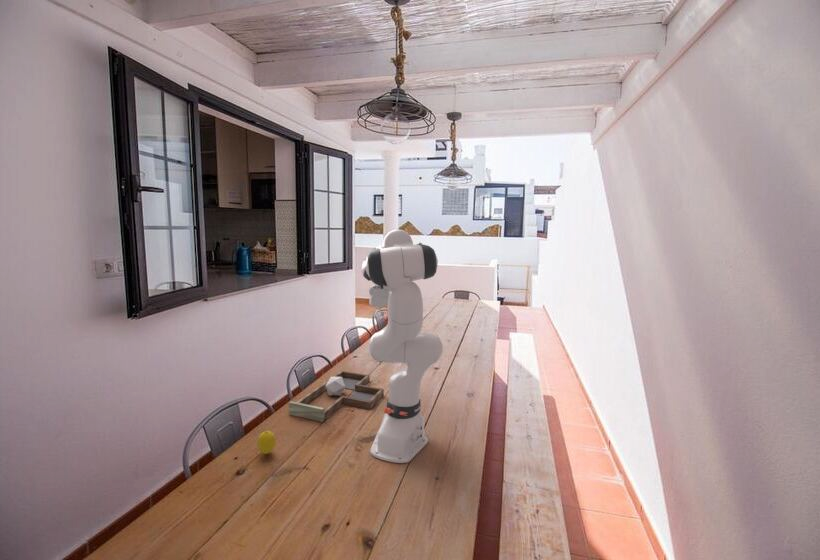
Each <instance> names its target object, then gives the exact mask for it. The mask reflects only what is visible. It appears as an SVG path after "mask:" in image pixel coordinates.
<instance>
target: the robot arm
mask: <svg viewBox="0 0 820 560" xmlns="http://www.w3.org/2000/svg"><path fill="white" fill-rule="evenodd" d="M438 261H439V260H438V256H437V254H436V252H435V249H434V248H433V247H431V246H429V245H426V244H423V243H422V242H419V243H416V244H414V242H413V239H412V237H411V234H409V233H408V232H407V231H406V230H404V229H399V228H395V229H392V230H390V231H388V233H386V235H385V236H384V238H383V239H382V241H381V244H379V245H378V246H376V247H373V248H371V250H370V251H368V253H367V256H366V257H365V258H364V259H363V261H362V265H361V272H362V277H364V279H366V280H367V281H368V282H369V281H370V282H372V283H373V285H372V286H370V287H369V291H368V292H369V302H368V304H369V306H371V308H376V309H377V310H378V312H379V317H384V316H385V315H384V314H385V312H384V311H382V307H387V324H386V326H385V327H384V328H382V329H381V330H379V331H377V332H375V333H374V334H372V335H371V337H370V339H369V342H368V353H369V355H370V357H371V358H372V359H373V360H374V361H378V362H382V363H387V364H406V366H405V367H404V368H401V370H398V371H396V372H394V373H393V374H391V376H390V378H389V379H388V398H387V400H386V405H385V407H384V409H383V418H382V421H381V424H380V427H379V429H378V431H377V433H376V436H375V438H374V440H373V443H372V445H371V448H370V451H369V454H370V455H371V456H372V457H374V458H377V459H379V460H382V461H385V462H390V463H395V464H396V463H398V464H406V463H409V462H411V460H413V458H414V457H415V456H416V455H417V454H418V453H419V452H420V451H421V450H422V449H423V448H425V446H426V445H427V444H428V443H429V439H428V437H427V436H426V435H425V418H424V416H423V414H422V413H421V407H422V403H421V399H420V392H421V385H422V380H423V378H424V375H425V373H426V372H427V371H428V369H429V368H431V366H433V365H435V364H436V363H437V362H438V361H439V360H440V359H441V357H442V355H443V351H444V345H443V342H442V339H440V337H439V336H438V335H436V334H433V333H429V332H425V331H424V332H423V331H421V330H422V328H423V321H424V320H423V318H424V317H423V315H424V303H423V301H424V300H423V297H422V296H423V295H422V292H421V289H420V286H418V284H417V283H415V282H414V281H420V280H429V279H431V278H433V277H434V276H435V275H436V274H437V270H438V266H439V265H438V263H439V262H438Z"/></svg>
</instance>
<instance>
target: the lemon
mask: <svg viewBox="0 0 820 560" xmlns="http://www.w3.org/2000/svg"><path fill="white" fill-rule="evenodd" d="M256 443H257V449H258V451H259V452H260V453H262V454H264V455H268V454H270V453H271V452H272V451H273V450H274V449H275V447H276V443H277V442H276V436H275V434H274V432H272V431H270V430H264V431H263V432H262V433H260V434H259V436H258V439H257V441H256Z"/></svg>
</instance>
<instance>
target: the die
mask: <svg viewBox="0 0 820 560" xmlns="http://www.w3.org/2000/svg"><path fill="white" fill-rule="evenodd" d="M328 380H329V381H328V382H327V384H326V391H327V394H328V396H331V397H332V396H333V397H335V396H339V397H341V396H342V395H343V392H344V390H345V387H346V386H345V383H344V381H343V378H342V377H333V376H330V377H329V379H328Z"/></svg>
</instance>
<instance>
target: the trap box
mask: <svg viewBox="0 0 820 560" xmlns="http://www.w3.org/2000/svg"><path fill="white" fill-rule="evenodd" d="M332 377H342V378H349V379H354V380H360V381H359V382H358V383H357V384H356V385H355V390H354V392H355V391H356V392H362V393H367V394H373V395H374V396H373V397H372V398H371V399H370V400H369V401H367V400H362V399H357V398H351V397H349V396H345V395H341V396H339V398H338V399H336V400H335V401H334V402H333V403H331V404H330V405H329V406H327V408H325V407H321V406H316V405H312V404H309V402H311V401H312V400H314V399H315V398H317V397H318V396H319V395H321V394H322V393H324V392H325V391H327V389H326V384H327V382H328V381H329V379H327V380H326V381H324V382H323V383H322V384H320V385H319V386H317V387H315V388H314V389H313V390H312V391H310V392H309V393H307V394H305V395H304V396H302V397H301V398H299V400H297V401H293V400H292V401H288V415H290V416H296V417H301V418H304V419H310V420H314V421H318V422H322V423H323V422H324V421H326V420H327V419H328V418H329V417H330V416H331V415H332V414H333V413H335V412H336V411H337V410H338V409H339V408H341V407H342V406H343V405H346V406H352V407H357V408H362V409H367V410H371V409H372V408H373V407H374V406H376V404H377V403H378V402H379V401H380V400H381V398H382V397H383V396H384V395H385V393H384V391H385V389H384V388H380V387H375V386H369V385H367V384H368V383H369V382H370V374H364V373H358V372H352V371H345V370H340V371H339V372H338V373H336V374H335V375H333V376H332Z"/></svg>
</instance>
